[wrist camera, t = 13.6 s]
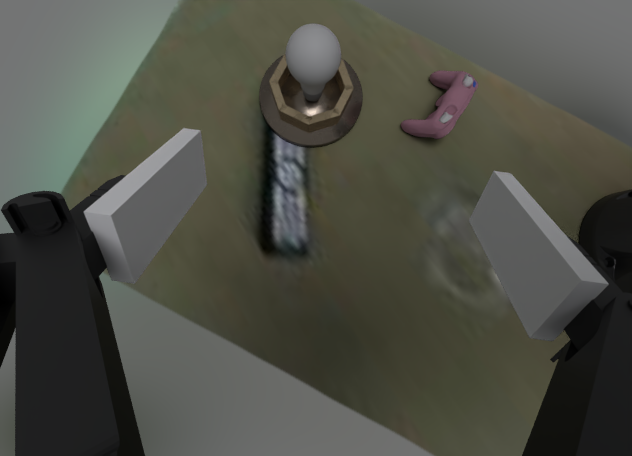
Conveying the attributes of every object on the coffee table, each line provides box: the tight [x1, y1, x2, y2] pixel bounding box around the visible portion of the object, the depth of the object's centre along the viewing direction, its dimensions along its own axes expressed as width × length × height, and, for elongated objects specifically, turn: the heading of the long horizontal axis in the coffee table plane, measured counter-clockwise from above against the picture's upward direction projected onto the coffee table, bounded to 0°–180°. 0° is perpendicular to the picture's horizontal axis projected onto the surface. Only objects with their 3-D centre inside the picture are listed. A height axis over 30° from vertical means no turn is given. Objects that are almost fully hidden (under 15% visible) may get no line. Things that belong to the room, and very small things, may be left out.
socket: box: [259, 54, 362, 148], centre depth 42 cm, size 14×14×4 cm
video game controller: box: [401, 71, 478, 139], centre depth 42 cm, size 10×5×7 cm, turn 148°
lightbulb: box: [286, 24, 341, 101], centre depth 37 cm, size 6×6×11 cm
